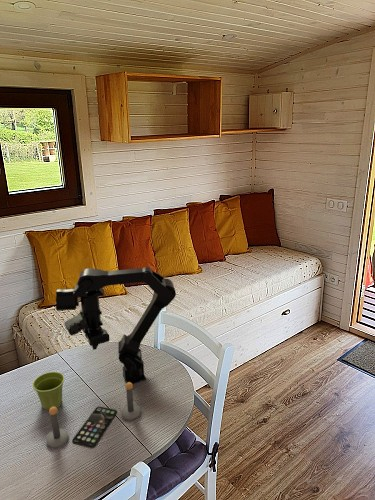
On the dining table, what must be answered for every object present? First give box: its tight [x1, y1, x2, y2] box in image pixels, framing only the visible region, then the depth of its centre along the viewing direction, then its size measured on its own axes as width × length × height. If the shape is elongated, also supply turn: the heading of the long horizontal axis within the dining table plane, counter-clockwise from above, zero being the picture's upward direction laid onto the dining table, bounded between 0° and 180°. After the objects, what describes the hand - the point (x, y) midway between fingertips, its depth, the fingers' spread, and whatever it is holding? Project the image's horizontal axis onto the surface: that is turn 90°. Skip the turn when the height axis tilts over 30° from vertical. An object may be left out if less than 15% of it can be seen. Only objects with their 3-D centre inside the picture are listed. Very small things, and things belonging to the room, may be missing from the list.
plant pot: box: [32, 371, 65, 411], centre depth 120 cm, size 9×9×9 cm
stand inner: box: [120, 382, 142, 421], centre depth 116 cm, size 6×6×11 cm
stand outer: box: [45, 407, 69, 449], centre depth 106 cm, size 6×6×11 cm
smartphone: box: [71, 405, 118, 449], centre depth 113 cm, size 7×1×15 cm
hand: (94, 348), depth 128 cm, fingers closed
